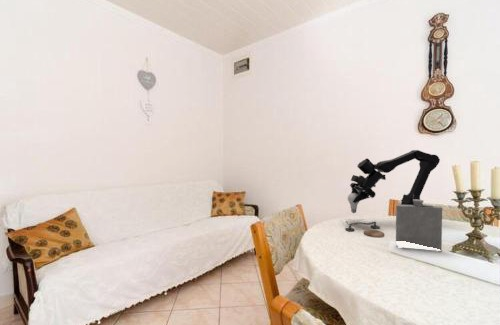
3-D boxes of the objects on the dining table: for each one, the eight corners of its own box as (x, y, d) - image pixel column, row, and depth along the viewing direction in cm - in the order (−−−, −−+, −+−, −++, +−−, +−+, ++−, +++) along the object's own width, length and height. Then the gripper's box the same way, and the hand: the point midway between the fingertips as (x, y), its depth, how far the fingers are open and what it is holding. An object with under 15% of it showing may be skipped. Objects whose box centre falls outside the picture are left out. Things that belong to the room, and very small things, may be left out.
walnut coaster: (386, 233, 120) (386, 232, 120) (381, 238, 113) (382, 237, 113) (366, 230, 126) (366, 228, 126) (361, 234, 119) (361, 233, 119)
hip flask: (396, 247, 103) (397, 199, 102) (394, 244, 106) (394, 198, 106) (442, 252, 98) (443, 201, 97) (438, 248, 101) (439, 199, 101)
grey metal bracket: (374, 226, 131) (374, 220, 131) (380, 228, 128) (380, 222, 127) (345, 229, 127) (345, 223, 127) (349, 232, 123) (349, 225, 123)
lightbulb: (349, 211, 138) (349, 191, 138) (361, 212, 135) (361, 192, 134) (346, 213, 134) (346, 193, 133) (358, 215, 130) (358, 194, 129)
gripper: (353, 168, 142) (334, 188, 143) (369, 171, 124) (347, 193, 124) (366, 181, 143) (348, 201, 143) (385, 186, 124) (363, 208, 125)
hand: (351, 201), depth 134 cm, fingers closed on lightbulb, 6 cm apart
